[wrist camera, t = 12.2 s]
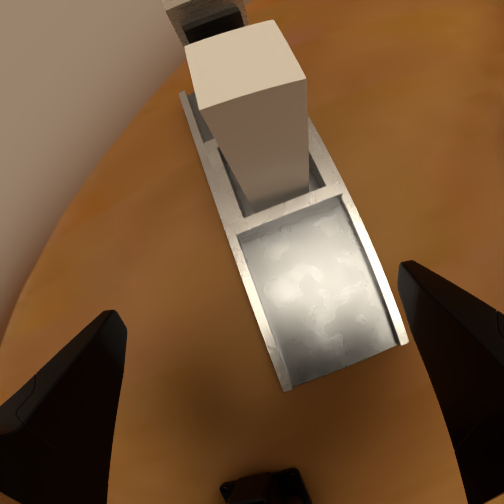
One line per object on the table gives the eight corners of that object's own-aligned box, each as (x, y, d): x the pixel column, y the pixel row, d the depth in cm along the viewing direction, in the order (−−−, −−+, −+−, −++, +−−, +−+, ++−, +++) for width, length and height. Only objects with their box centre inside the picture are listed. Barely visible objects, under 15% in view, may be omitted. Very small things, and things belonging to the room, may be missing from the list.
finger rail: (400, 338, 21) (511, 365, 7) (284, 385, 22) (252, 479, 8) (276, 72, 26) (251, -53, 13) (185, 107, 27) (117, -3, 14)
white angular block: (308, 196, 22) (306, 78, 10) (254, 212, 23) (199, 110, 11) (289, 143, 23) (269, 12, 11) (238, 158, 24) (182, 39, 12)
